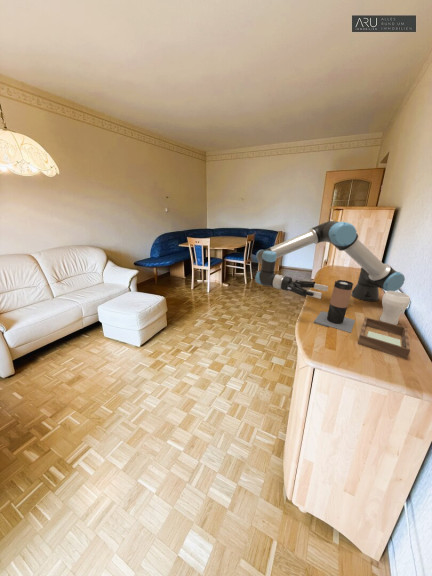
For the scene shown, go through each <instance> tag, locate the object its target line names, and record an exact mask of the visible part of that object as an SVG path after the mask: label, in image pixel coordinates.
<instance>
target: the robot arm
mask: <svg viewBox="0 0 432 576" xmlns="http://www.w3.org/2000/svg"><path fill="white" fill-rule="evenodd" d="M324 242H325V243H330V244H331V245H333V246H334V247H335V248H336V249H337V250H338V251H339V252H345V253H346V254H347V255H348V256H349V257H350V258H351V259H352V260H353V261H354V262H356V263H357V264H358V266H360V272H359V276H358V280H357V284H356V285H355V286H354V288H352V291H351V295H350V296H352V297H353V298H355V299H357V298H358V300H361V301H366V302H378V301H379V298H380V293H379V289H381V290H383V291H385V292H386V291H396V292H397V291H398V290H400V289H401V288H402V287H403V285H404V283H405V280H406V279H405V275H404V274H403V273H402V272H400V271H396V270H395V269H394V268H393V266H391V265H390V264H388V263H383V262H382V261H381V260H380V259H379V258H378V257H377V256H376V255H375V254H374V253H373V252H372V251H371V250H370V249H369V248H368V247H367V246H366V245H365V244H364V243H362V242H361V240H359V234H358V233H357V229H356V227H355V226H354V224H352V223H349V222H348V221H347V222H346V221H334V220H328V221H326V222H323V223H321V224H318V225H316V226H313V227H312V228H310V229H309V231H306V232H304V233H302V234H299V235H296V236H295V237H293V238H290V239H288V240H284V241H282V242H281V243H278V244H276V245H273V246H271V247H269V248H266V249H259V250H258V251H257V252H256V255H255V256H256V260H257V261H258V262H259V263H260V265H261V266H260V270H259V271H257V272H256V274H255V277H254V278H255V279H254V280H255V283H256V284H258V285H261V286H265V287H270V288H275V289H276V290H282V291H286V292H289V291H290V292H292V293H294V294H297V295H298V296H300V297H303V298H306V297H311V298H316V299H320V300H321V299H322V297H323V292H328V290H329V289H328V288H329V286H328V285H324V284H319V283H316V281H307V280H298V279H296V280H295V281H293V278H292V276H291V277H290V276H287V275H281V274H277V273H276V274H275V269H276V263H277V259H278V258H281V257H284V256H285V255H288V254H291V253H293V252H295V251H298V250H301V249H303V248H304V247H308V246H310V245H312V244H315V245H316V244H319V243H324ZM305 288H311V289H315V290H310V289H305ZM316 290H319V291H322V292H319V291H316Z"/></svg>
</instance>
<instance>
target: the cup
mask: <svg viewBox="0 0 432 576" xmlns="http://www.w3.org/2000/svg"><path fill="white" fill-rule="evenodd" d="M410 300H411V296H410V295H408V294H407V293H404V292H400V291H397V290H396V291H385V293H384V294H383V295H382V298H381V304H382V313H381V315H380V317H379V321H383V322H387V323H390V324H394V325H398V323H399V318H400V315H401V314H402V313H403V312H404V311H406V309H407V308H408V307H409V305H410V302H411V301H410Z"/></svg>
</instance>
